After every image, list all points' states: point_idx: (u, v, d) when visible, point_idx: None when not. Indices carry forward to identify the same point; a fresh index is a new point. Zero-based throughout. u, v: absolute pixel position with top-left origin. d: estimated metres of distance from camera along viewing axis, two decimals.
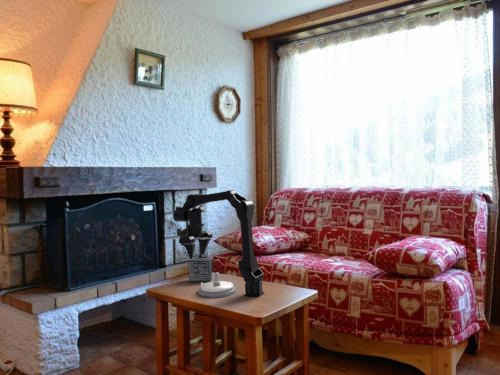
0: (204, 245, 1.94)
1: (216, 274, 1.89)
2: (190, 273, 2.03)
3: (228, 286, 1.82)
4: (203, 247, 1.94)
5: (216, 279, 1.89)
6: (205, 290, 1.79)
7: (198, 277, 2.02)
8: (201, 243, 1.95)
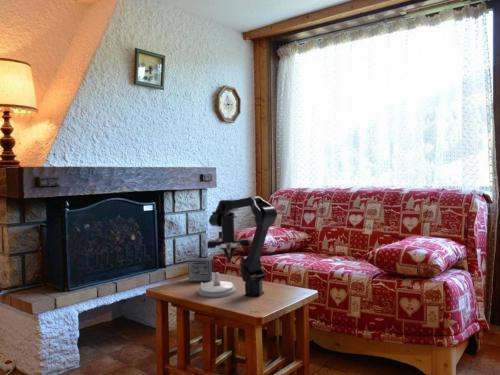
0: (230, 253, 1.89)
1: (216, 274, 1.89)
2: (190, 273, 2.03)
3: (228, 286, 1.82)
4: (229, 255, 1.90)
5: (216, 279, 1.89)
6: (205, 290, 1.79)
7: (198, 277, 2.02)
8: None
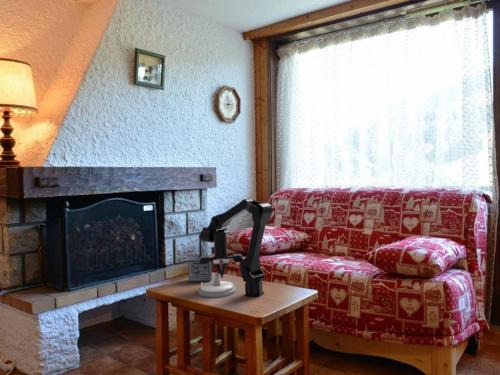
0: (222, 268, 1.89)
1: (216, 274, 1.89)
2: (190, 273, 2.03)
3: (228, 286, 1.82)
4: (221, 270, 1.90)
5: (216, 279, 1.89)
6: (205, 290, 1.79)
7: (198, 277, 2.02)
8: None
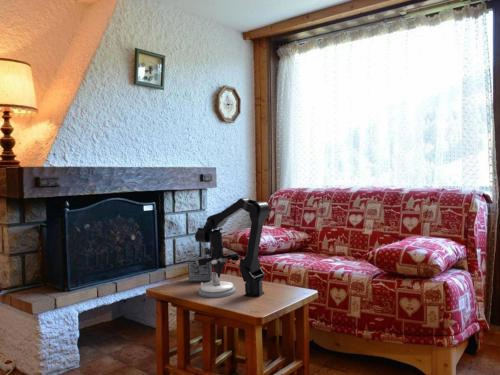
0: None
1: (214, 274, 1.89)
2: (190, 273, 2.03)
3: (229, 285, 1.83)
4: None
5: (214, 279, 1.89)
6: (207, 290, 1.78)
7: (198, 277, 2.02)
8: None
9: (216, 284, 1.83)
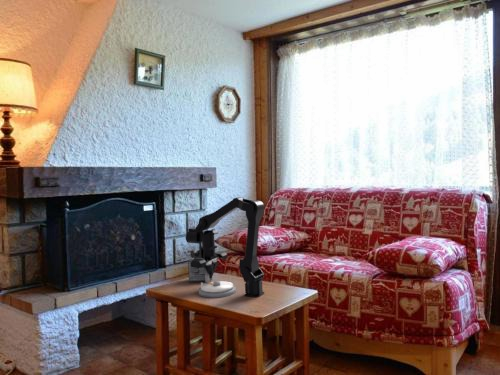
0: None
1: (208, 275, 1.87)
2: (190, 273, 2.03)
3: (229, 283, 1.86)
4: None
5: (208, 280, 1.87)
6: (216, 291, 1.77)
7: (198, 277, 2.02)
8: (209, 267, 1.90)
9: (218, 284, 1.83)
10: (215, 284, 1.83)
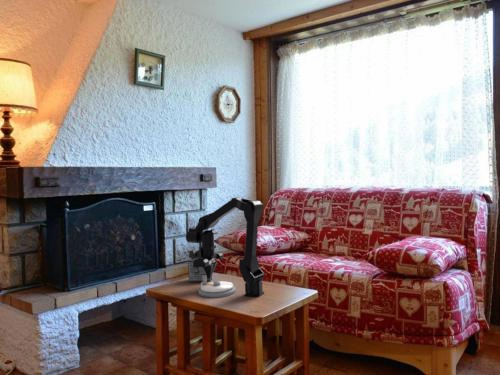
0: None
1: (205, 276, 1.86)
2: (190, 273, 2.03)
3: (227, 282, 1.88)
4: None
5: (206, 281, 1.86)
6: (222, 290, 1.78)
7: (198, 277, 2.02)
8: None
9: (219, 284, 1.83)
10: (216, 284, 1.83)
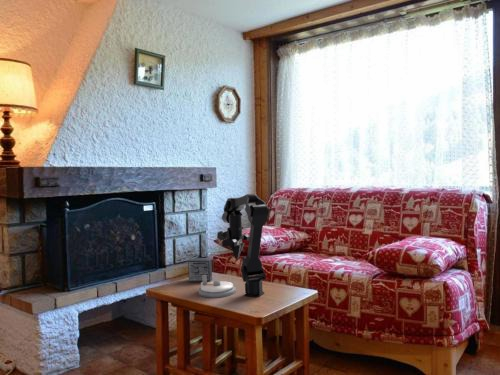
0: None
1: (205, 276, 1.86)
2: (190, 273, 2.03)
3: (227, 282, 1.88)
4: None
5: (206, 281, 1.86)
6: (222, 290, 1.78)
7: (198, 277, 2.02)
8: None
9: (219, 284, 1.83)
10: (216, 284, 1.83)
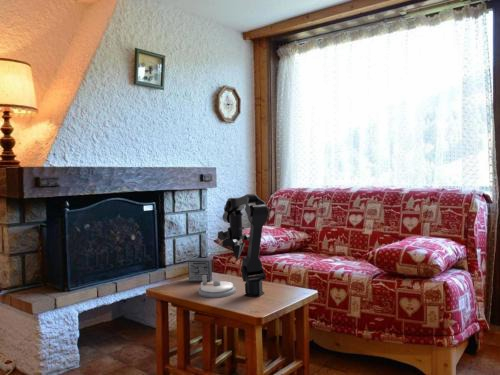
0: None
1: (205, 276, 1.86)
2: (190, 273, 2.03)
3: (227, 282, 1.88)
4: None
5: (206, 281, 1.86)
6: (222, 290, 1.78)
7: (198, 277, 2.02)
8: None
9: (219, 284, 1.83)
10: (216, 284, 1.83)
